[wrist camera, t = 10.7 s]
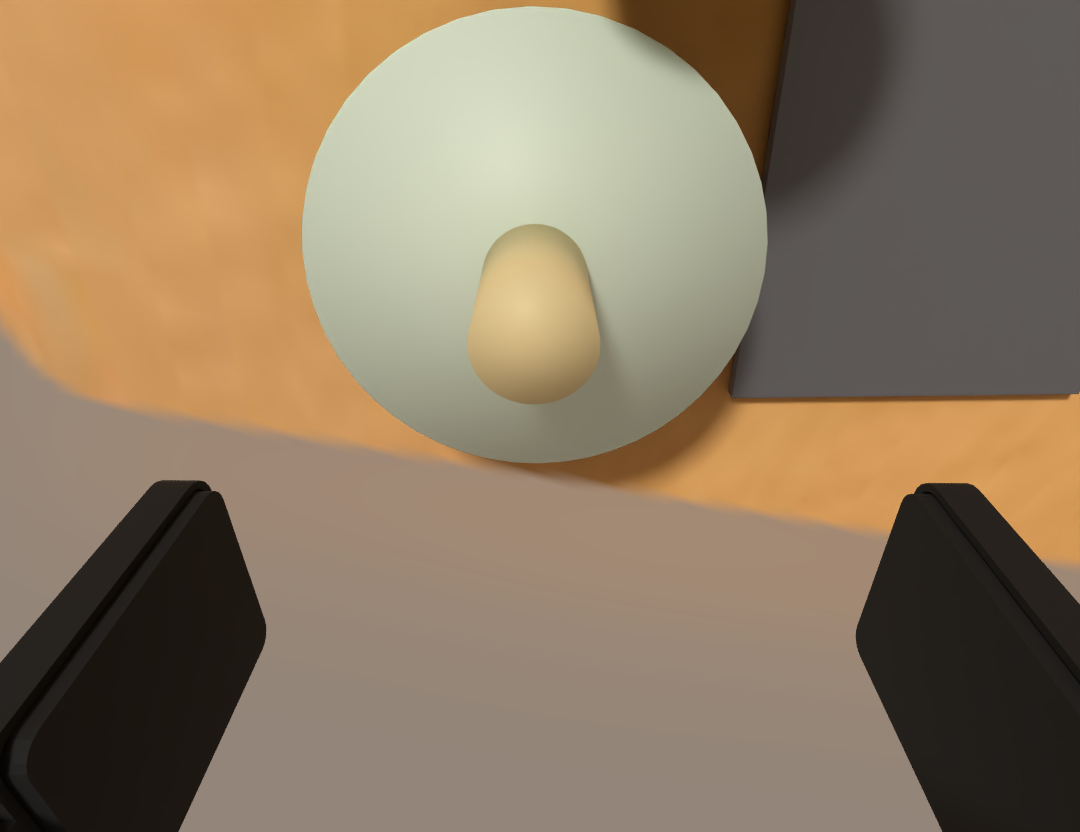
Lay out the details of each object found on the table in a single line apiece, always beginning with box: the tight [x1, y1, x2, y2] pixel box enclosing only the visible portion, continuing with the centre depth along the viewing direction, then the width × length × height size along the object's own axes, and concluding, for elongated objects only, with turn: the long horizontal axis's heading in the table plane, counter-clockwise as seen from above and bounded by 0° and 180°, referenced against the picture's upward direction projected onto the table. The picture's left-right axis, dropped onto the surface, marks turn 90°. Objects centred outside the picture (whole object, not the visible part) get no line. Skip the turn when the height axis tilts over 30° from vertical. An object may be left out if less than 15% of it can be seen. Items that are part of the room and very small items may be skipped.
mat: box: [729, 0, 1080, 398], centre depth 25 cm, size 15×15×1 cm
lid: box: [302, 6, 768, 463], centre depth 18 cm, size 14×14×6 cm
